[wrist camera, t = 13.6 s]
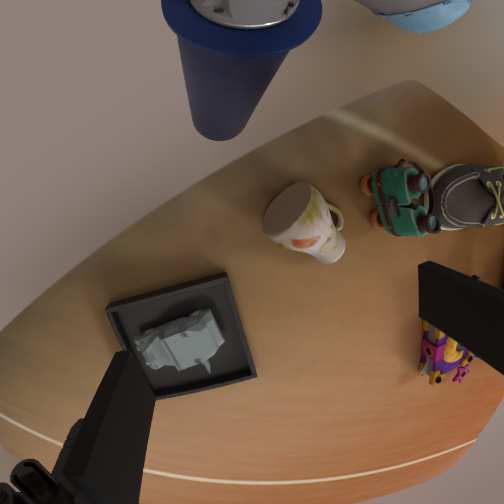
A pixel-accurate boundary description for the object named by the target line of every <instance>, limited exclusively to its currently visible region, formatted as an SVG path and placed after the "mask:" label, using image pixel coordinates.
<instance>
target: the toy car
mask: <svg viewBox="0 0 504 504" xmlns="http://www.w3.org/2000/svg"><path fill="white" fill-rule="evenodd" d="M134 341H135V343H136V345H138V346H136V347H137V350H138V351H142V354H143V356H144V357H145V359H146V360H145V363H146V365H149V366H150V367H151V368H152V369H155V370H156V369H158V368H161V367H163V366H164V365H170V366H176V368H177V370H178V371H180V370H183V369H186V368H189V367H191V366H194V365H197V364H200V363H202V364H203V365H205V367H206V369H207V371H208V372H209V374H210V373H211V370H210V362H209V361H208V359H209V358H210V357H212V356H213V355H214V354H215V353H216V351H217V350H218V348H219V346H221V345H222V344H223V343H224V342H225V340H224V337H223V335H222V333H221V331H220V329H219V327H218V325H217V323H216V321H215V319H214V317H213V315H212V313H211V310H210V308H209V309H207V310H204V311H203V310H196V311H194V312H192V313H191V314H190V315H189V318H188V317H181V318H179V319H176V320H173V321H171V322H168V323H166V324H163V325H161V326H158V327H156V328H150V329H148V330H146V331H144V332H143V334H142V336H137V337H135V338H134Z"/></svg>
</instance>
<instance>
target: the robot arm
mask: <svg viewBox="0 0 504 504" xmlns="http://www.w3.org/2000/svg"><path fill="white" fill-rule="evenodd" d="M189 1H190V4H191V6H192V8H193V9H194V11H195V12H196V13H197V14H198V15H199V16H200V17H202V18H203V19H204V20H206V21H208V22H210V23H212V24H214V25H217V26H219V27H222V28H226V29H231V30H237V31H260V30H266V29H270V28H273V27H276V26H278V25H280V24H282V23H284V22H286V21H287V20H288V19H289V18H290V17H291V16H292V15H293V14H294V12H295V10H296V8H297V6H298V4H299V1H300V0H189ZM355 1H357V2H359V3H360V4H362V5H363V6H365V7H367V8H368V9H370V10H371V11H372V12H373V13H374V14H376V15H377V16H380V17H383V18H385V19H386V20H388V21H390V22H392V23H393V24H394V25H396V26H398V27H399V28H401V29H402V30H404V31H407V32H411V33H427V32H431V31H435V30H438V29H440V28H442V27H445V26H446V25H448V24H450V23H452V22H453V21H455V20H456V19H458V18H459V17H461V16H462V15H463V14H464V13H465V12H466V11H467V10H468V9H469V8H470V5H469V4H470V3H472V2H474V0H355ZM418 279H419V317H421V318H422V319H424V320H425V321H427V322H428V323H430V324H431V325H432V326H434V327H435V328H437V329H438V330H440V331H441V332H443V333H444V334H446V335H447V336H449V337H450V338H452V339H453V340H455V341H456V342H457V343H459V344H460V345H462V346H463V347H465V348H466V349H468V350H469V351H470V352H472V353H473V354H475V355H476V356H478V357H479V358H480V359H482V360H483V361H485V362H486V363H487V364H489V365H490V366H492V367H493V368H494V369H496V370H497V371H498V372H500V373H501V374H503V375H504V290H503V289H498V288H496V287H494V286H491V285H489V284H487V283H484V282H482V281H479V280H477V279H475V278H472V277H470V276H467V275H465V274H462V273H460V272H457V271H455V270H452V269H450V268H447V267H445V266H442V265H440V264H437V263H435V262H432V261H427V262H424V263H422V264H419V265H418ZM155 401H156V397H155V395H154V393H153V391H152V390H151V388H150V386H149V384H148V382H147V380H146V378H145V376H144V374H143V372H142V370H141V368H140V366H139V364H138V362H137V360H136V358H135V356H134V354H133V352H132V350H131V349H130V350H125V351H120V352H116V353H115V355H114V357H113V359H112V361H111V363H110V365H109V367H108V369H107V371H106V373H105V375H104V377H103V379H102V381H101V383H100V385H99V387H98V389H97V391H96V394H95V396H94V398H93V400H92V402H91V404H90V407H89V409H88V411H87V413H86V415H85V418H84V419H79V420H78V421H77V422H76V423H75V424H74V425H73V426H72V428H71V429H70V432H69V434H68V436H67V440H65V443H64V445H63V448H62V449H61V452H60V454H59V456H58V459H57V461H56V464H55V466H54V468H53V471H52V473H51V474H50V473H49V472H48V471H47V470H46V469H45V468H44V466H43V465H42V464H41V463H40V462H39V461H37V460H35V459H26V460H23V461H21V462H20V463H18V464H17V465H16V466H15V468H14V469H13V470H12V473H11V475H10V481H11V483H12V484H13V485H14V486H15V487H17V488H18V489H19V490H20V491H21V492H16V491H15V490H14V489H13V488H12V487H11V486H10V485H8V484H6V483H0V504H139V496H140V489H141V482H142V475H143V468H144V462H145V456H146V450H147V444H148V438H149V433H150V427H151V422H152V417H153V412H154V406H155Z"/></svg>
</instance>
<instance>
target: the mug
mask: <svg viewBox="0 0 504 504" xmlns="http://www.w3.org/2000/svg"><path fill="white" fill-rule="evenodd" d="M329 209H330V210H331V211H333V212H334V213H335V214H336V216H337V224H336V226H334V224H333V221H332V218H331V215H330V211H329ZM342 227H343V215H342V213H341V211H340V210H339V209H338V208H337V207H336V206H334V205H332V204H330V203H327V202H326V201H325V199H324V198H323V196H322V195H321V193H320V192H319V191H318V190H317V189H316V188H314V187H313V186H312V185H310V184H308V183H305V182H297V183H295V184H293V185H291V186H289V187H287V188H286V189H285V190H283V191H282V192H281V193H280V194H279V195H278V196H277V197H276V198H275V199H274V200H273V201H272V203H271V204H270V205H269V207H268V209H267V210H266V213H265V215H264V219H263V231H264V233H265V234H266V235H267V236H268V237H269V238H270V239H271V240H272V241H273V242H275V243H276V244H278V245H280V246H282V247H284V248H287V249H291V250H295V251H300V252H305V253H309V254H311V255H313V256H314V257H315V258H317V259H318V260H319V261H320V262H322V263H324V264H329V263H332V262H335V261H336V260H338V259H339V258H340V257H341V256H342V254H343V253H344V250H345V239H344V237H343V236H342V235H341V234H340V233H339V232H338V231H340V230H341V229H342Z"/></svg>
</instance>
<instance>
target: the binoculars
mask: <svg viewBox="0 0 504 504" xmlns="http://www.w3.org/2000/svg"><path fill="white" fill-rule="evenodd" d="M405 162H408V163H411V164H412V165H413V166H414V167H416V168H417V169H418V171H419V172H420V173H418V172H417V170H416V169H415V168H412V167H403V165H404V163H405ZM360 188H361V190H362V192H363V193H364V194H365V195H368V196H375V199H376V203H377V205H382V206H378V209H375V210H374V211H373V212H372V214H371V216H370V222H371V225H372V226H373V227H374V228H376V229H386V231H387V232H388V233H389V234H393V235H395V236H416V237H421V236H424V235H425V234H427V233H434V234H437V233H439V231H440V229H441V222H440V219H439V218H438V216H437V215H435V214H433V210H434V205H435V202H434V193H433V189H432V186H431V176H430V174H429V173H426V172H425V171H424V169H423V168H422V167H421V166H420V165H419V164H418V163H417V162H415V161H412V160H404V159H401V160H399V162H398V164H396V165H394V166H389V167H384V168H382V169H378V170H376V171H374V172H373V174H372V175H366V176H364V177H363V178H362V180H361V182H360ZM427 191H428V197H429V207H428V212H427V213H426V210H425V209H424V207H423V206H421V205H417V204H413V203H412V199H418V198H419V196H420V193H426V192H427Z"/></svg>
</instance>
